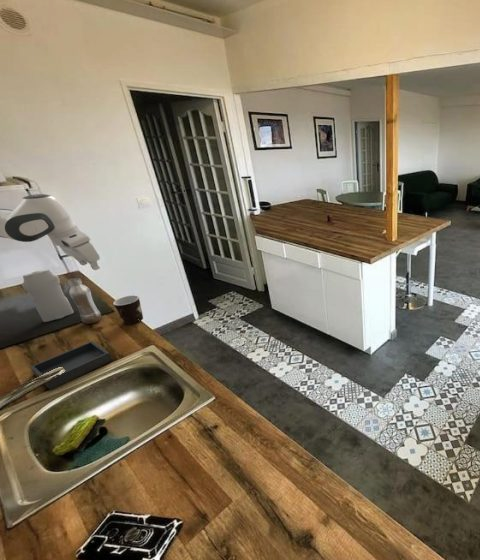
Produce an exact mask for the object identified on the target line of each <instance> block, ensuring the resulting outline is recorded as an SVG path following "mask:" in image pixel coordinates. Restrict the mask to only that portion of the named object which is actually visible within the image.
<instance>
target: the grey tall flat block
mask: <svg viewBox="0 0 480 560" xmlns="http://www.w3.org/2000/svg"><path fill="white" fill-rule="evenodd" d="M22 277H23V282H22V283H21V286H22V288H23V290H24V291H25V292H26V293H28V295H29V296H30V297H31V299H32V300H33V302H34V304H35V309H36V312H38V315H39V317H40V318H41V320H42V322H43V323H48V322H50V321H51V322H52V321H54V320H60V319H62V318H65V317H68V316H70V315H72V314H74V313H75V311H74V309H73V308H72V305H71V303H70V301H69V300H68V298H67V297H66V296H65V294H64V292H63V290H62V287H61V284H60V283H61V279H60V278H59V276H58V274H57V275H56V274H54V273H53V272H52V271H51V270H50V269H45V270H36V271H33V272H30V273H26V274H24V275H22Z"/></svg>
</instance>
